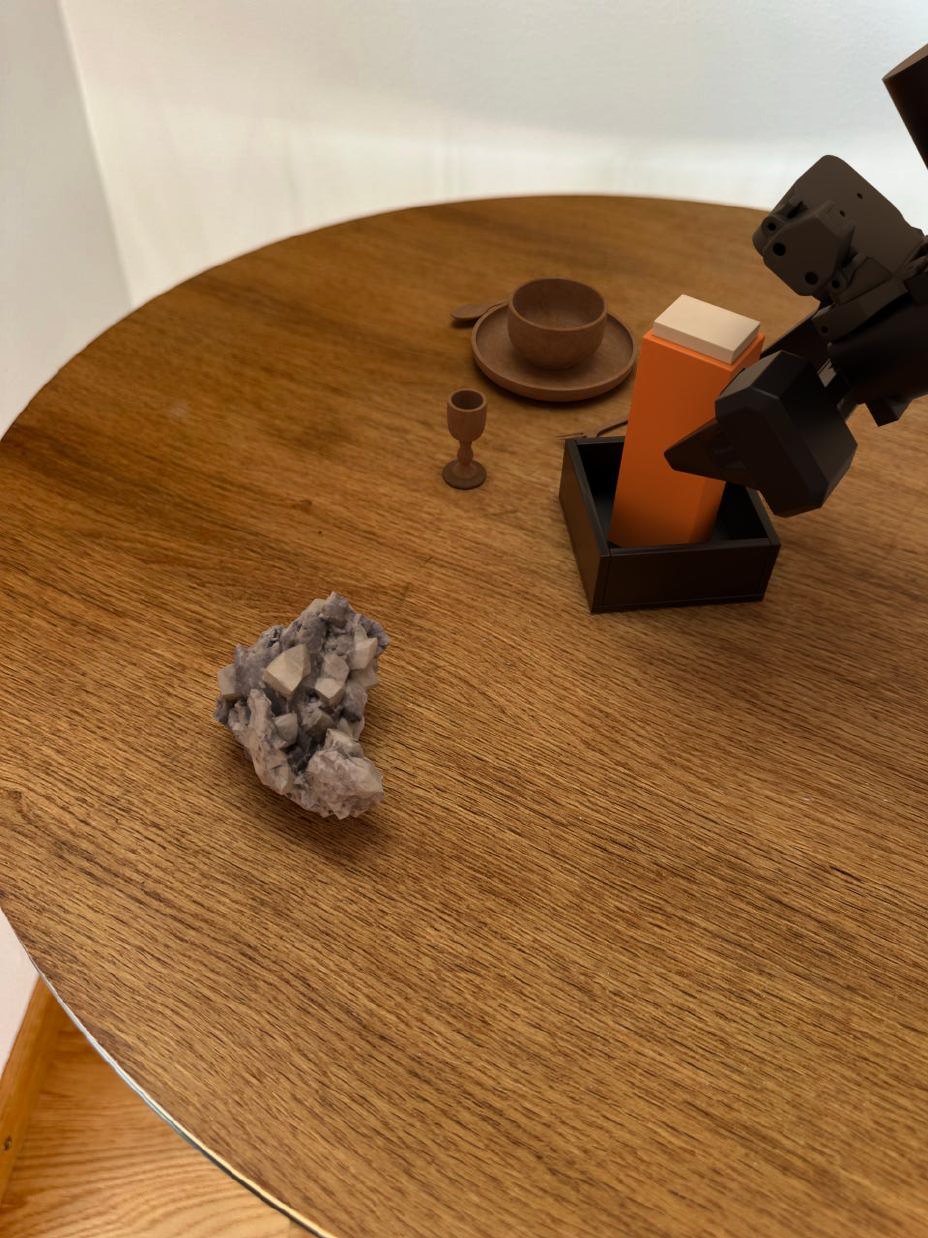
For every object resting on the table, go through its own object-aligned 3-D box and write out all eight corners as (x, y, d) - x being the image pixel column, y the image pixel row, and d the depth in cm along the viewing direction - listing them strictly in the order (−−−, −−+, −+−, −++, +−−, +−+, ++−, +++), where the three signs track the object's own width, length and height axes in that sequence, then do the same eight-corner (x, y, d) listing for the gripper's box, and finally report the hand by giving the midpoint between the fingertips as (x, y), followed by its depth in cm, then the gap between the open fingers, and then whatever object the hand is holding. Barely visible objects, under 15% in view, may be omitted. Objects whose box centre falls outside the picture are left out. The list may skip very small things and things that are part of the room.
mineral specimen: (396, 840, 47) (329, 628, 44) (206, 868, 49) (132, 668, 47) (450, 725, 58) (399, 551, 56) (294, 753, 61) (238, 586, 58)
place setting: (697, 397, 76) (714, 324, 71) (463, 499, 68) (466, 424, 63) (545, 284, 85) (552, 214, 81) (324, 363, 77) (319, 289, 73)
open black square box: (713, 486, 69) (728, 429, 66) (762, 601, 63) (782, 544, 59) (558, 496, 68) (565, 438, 65) (590, 614, 61) (600, 556, 58)
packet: (711, 538, 65) (770, 320, 54) (681, 576, 63) (736, 356, 52) (638, 505, 67) (680, 288, 56) (606, 541, 65) (644, 322, 54)
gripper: (980, 52, 48) (710, 215, 60) (819, 211, 38) (531, 369, 50) (1084, 268, 51) (806, 382, 63) (961, 472, 41) (656, 561, 53)
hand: (709, 415), depth 57 cm, fingers open, 9 cm apart
